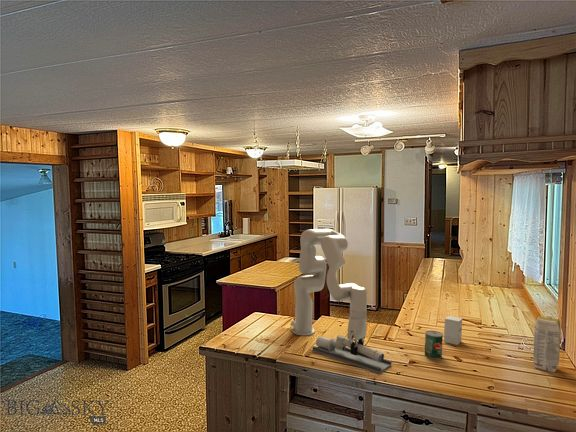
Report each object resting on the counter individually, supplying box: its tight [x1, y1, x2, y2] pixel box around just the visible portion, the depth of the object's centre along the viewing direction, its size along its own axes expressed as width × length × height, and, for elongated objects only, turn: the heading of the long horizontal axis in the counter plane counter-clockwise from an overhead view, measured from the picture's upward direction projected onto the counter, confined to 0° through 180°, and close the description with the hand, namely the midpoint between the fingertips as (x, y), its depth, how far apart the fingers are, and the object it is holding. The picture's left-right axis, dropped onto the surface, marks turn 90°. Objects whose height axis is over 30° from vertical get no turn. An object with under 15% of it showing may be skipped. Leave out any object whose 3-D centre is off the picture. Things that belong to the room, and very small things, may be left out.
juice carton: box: [532, 314, 562, 373], centre depth 174 cm, size 9×8×24 cm
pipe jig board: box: [312, 335, 392, 375], centre depth 181 cm, size 36×11×7 cm, turn 50°
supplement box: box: [443, 315, 463, 346], centre depth 205 cm, size 7×7×13 cm
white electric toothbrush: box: [334, 334, 385, 363], centre depth 179 cm, size 5×7×25 cm
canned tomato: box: [424, 330, 444, 360], centre depth 186 cm, size 8×8×11 cm
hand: (357, 352), depth 179 cm, fingers closed on white electric toothbrush, 4 cm apart
